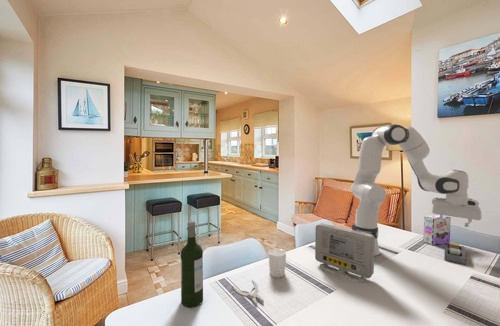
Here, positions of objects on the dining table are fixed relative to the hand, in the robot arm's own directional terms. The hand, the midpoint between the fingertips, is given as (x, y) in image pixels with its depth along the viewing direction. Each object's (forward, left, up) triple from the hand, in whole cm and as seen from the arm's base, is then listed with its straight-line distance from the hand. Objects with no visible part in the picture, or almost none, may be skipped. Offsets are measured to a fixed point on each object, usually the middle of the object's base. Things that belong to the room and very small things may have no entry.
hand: (454, 224), depth 129 cm
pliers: (-61, -101, -16) cm, 119 cm away
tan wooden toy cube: (0, 0, -16) cm, 16 cm away
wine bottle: (-75, -119, -16) cm, 141 cm away
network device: (-40, -61, -16) cm, 74 cm away
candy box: (-8, +12, -16) cm, 21 cm away
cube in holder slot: (0, -10, -16) cm, 19 cm away
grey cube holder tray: (0, -5, -16) cm, 16 cm away
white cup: (-62, -82, -16) cm, 104 cm away
